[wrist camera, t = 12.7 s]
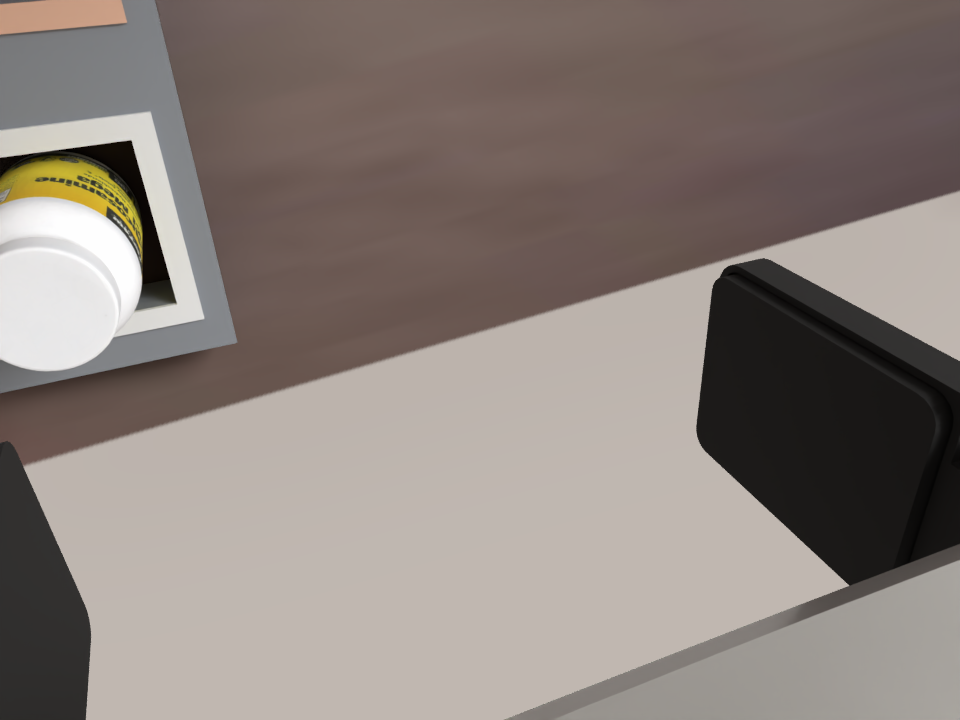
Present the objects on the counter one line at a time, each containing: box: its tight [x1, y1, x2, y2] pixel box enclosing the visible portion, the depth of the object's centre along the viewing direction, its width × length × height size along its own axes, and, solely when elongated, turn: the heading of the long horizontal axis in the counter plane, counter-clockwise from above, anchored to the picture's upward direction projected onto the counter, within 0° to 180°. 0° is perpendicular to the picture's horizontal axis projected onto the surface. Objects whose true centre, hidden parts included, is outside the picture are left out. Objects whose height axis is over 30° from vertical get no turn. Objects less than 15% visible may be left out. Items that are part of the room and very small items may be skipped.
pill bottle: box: [0, 151, 143, 371], centre depth 31 cm, size 6×6×11 cm
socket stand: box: [0, 0, 237, 393], centre depth 31 cm, size 12×26×3 cm, turn 4°
